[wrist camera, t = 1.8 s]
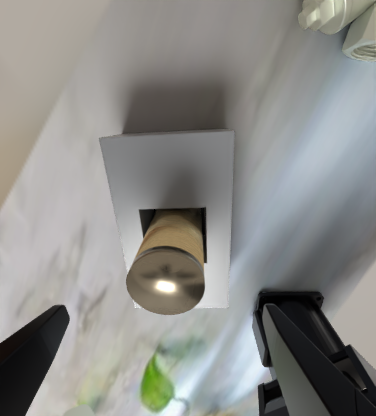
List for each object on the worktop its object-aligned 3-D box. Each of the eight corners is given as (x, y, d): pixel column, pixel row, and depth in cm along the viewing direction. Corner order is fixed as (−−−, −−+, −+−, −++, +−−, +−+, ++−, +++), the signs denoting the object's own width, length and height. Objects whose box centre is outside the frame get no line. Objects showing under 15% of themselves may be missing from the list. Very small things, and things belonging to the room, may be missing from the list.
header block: (225, 128, 15) (234, 131, 12) (222, 274, 21) (228, 307, 17) (121, 134, 16) (98, 138, 12) (145, 275, 21) (135, 308, 18)
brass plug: (200, 193, 17) (204, 253, 9) (201, 234, 19) (205, 314, 11) (154, 194, 17) (119, 254, 10) (159, 235, 19) (133, 315, 11)
